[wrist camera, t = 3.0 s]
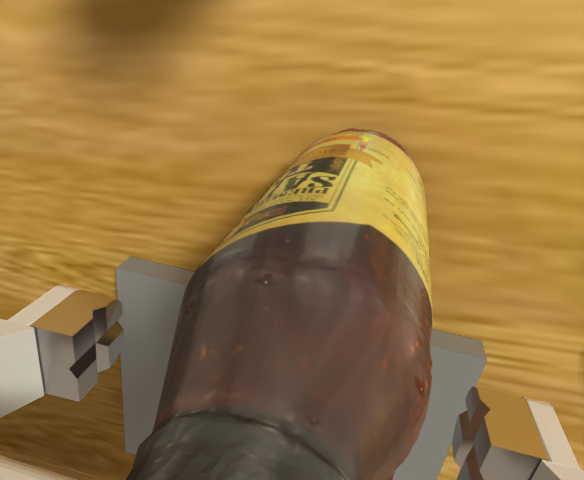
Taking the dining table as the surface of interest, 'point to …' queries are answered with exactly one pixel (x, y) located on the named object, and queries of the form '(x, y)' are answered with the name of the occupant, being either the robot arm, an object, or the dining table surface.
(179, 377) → the sauce bottle
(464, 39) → the dining table surface
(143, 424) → the serving board
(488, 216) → the dining table surface
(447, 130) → the dining table surface
